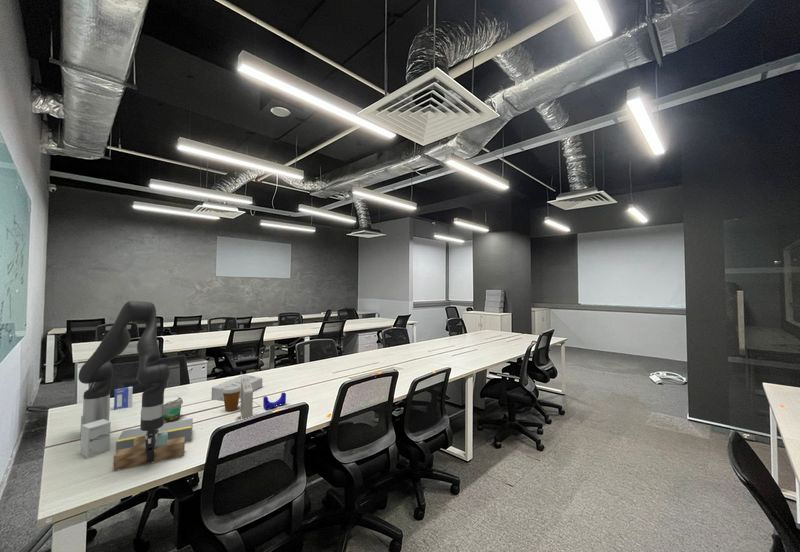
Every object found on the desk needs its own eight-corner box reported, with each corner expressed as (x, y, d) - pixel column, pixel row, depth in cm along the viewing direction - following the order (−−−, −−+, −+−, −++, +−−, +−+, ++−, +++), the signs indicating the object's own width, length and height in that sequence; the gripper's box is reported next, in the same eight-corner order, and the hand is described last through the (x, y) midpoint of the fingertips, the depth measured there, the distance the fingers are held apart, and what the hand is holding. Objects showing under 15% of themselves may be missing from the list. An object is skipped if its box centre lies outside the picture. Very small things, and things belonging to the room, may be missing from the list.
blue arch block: (265, 409, 182) (265, 398, 182) (263, 407, 186) (263, 396, 186) (286, 404, 190) (286, 394, 190) (283, 402, 193) (284, 392, 193)
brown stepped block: (113, 472, 120) (113, 456, 120) (116, 465, 125) (117, 450, 125) (183, 456, 131) (183, 441, 132) (184, 450, 136) (184, 436, 136)
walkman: (114, 411, 178) (114, 389, 178) (114, 410, 180) (114, 388, 180) (132, 407, 184) (133, 386, 184) (132, 406, 186) (132, 385, 186)
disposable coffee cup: (239, 410, 180) (240, 389, 180) (220, 412, 176) (221, 391, 177) (241, 404, 189) (241, 384, 189) (223, 406, 185) (223, 386, 186)
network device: (257, 430, 155) (257, 389, 155) (237, 434, 151) (237, 392, 151) (252, 412, 177) (253, 376, 178) (234, 415, 173) (235, 378, 173)
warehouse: (231, 401, 195) (232, 388, 195) (211, 399, 198) (211, 387, 198) (262, 386, 224) (262, 375, 225) (244, 385, 227) (244, 374, 227)
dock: (115, 457, 131) (116, 441, 131) (122, 444, 141) (122, 430, 141) (191, 441, 144) (191, 427, 144) (192, 430, 154) (192, 417, 155)
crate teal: (154, 447, 127) (154, 437, 127) (155, 443, 130) (155, 433, 131) (166, 444, 129) (166, 434, 129) (167, 440, 133) (167, 431, 133)
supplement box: (86, 460, 128) (87, 428, 129) (79, 455, 132) (80, 424, 132) (110, 451, 135) (111, 421, 135) (102, 447, 139) (103, 418, 139)
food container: (167, 426, 159) (167, 406, 160) (157, 425, 161) (157, 405, 161) (188, 416, 172) (188, 397, 172) (178, 415, 173) (179, 396, 173)
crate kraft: (133, 451, 124) (133, 441, 124) (135, 447, 127) (135, 437, 127) (146, 448, 126) (146, 438, 126) (148, 444, 129) (148, 434, 129)
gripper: (143, 411, 133) (142, 452, 132) (137, 424, 121) (136, 469, 120) (166, 407, 137) (165, 447, 136) (161, 419, 124) (160, 463, 124)
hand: (151, 457), depth 128 cm, fingers closed on brown stepped block, 5 cm apart
